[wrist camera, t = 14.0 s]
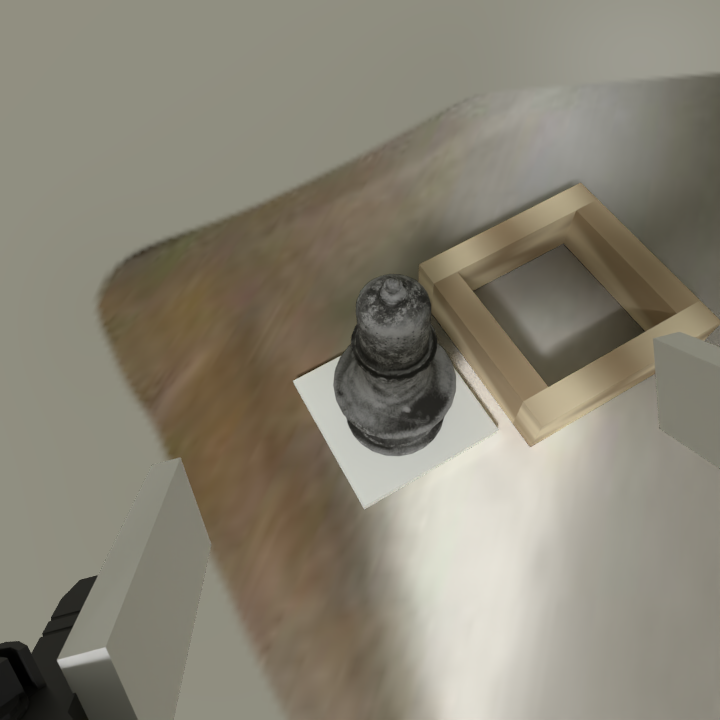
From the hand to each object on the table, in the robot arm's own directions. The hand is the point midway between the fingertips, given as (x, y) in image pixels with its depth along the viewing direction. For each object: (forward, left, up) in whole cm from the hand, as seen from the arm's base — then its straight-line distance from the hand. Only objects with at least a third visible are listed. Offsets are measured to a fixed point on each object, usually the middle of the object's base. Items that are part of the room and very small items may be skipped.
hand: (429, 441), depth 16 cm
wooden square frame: (-13, -7, -14) cm, 20 cm away
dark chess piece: (-2, -6, -14) cm, 16 cm away
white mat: (-2, -7, -14) cm, 16 cm away
